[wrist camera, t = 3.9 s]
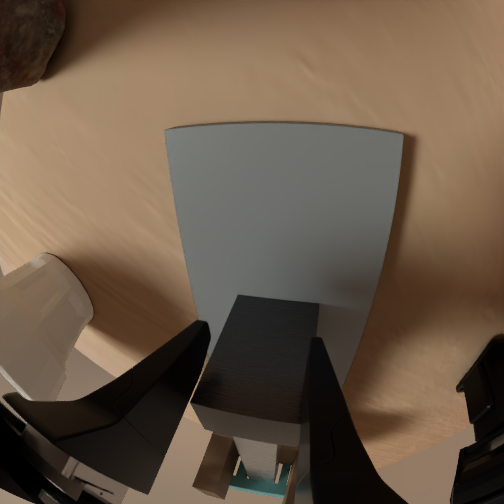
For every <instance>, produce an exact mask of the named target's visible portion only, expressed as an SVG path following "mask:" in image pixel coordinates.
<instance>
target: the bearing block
mask: <svg viewBox="0 0 504 504" xmlns="http://www.w3.org/2000/svg"><path fill="white" fill-rule="evenodd" d="M299 442H300V439H299ZM239 456H240V454H239V452H238V449H237V446H236V444H235V441H234V438H233V436H230V435H225V434H221V433H217V432H213V434H212V437H211V439H210V442H209V444H208V447H207V450H206V452H205V456H204V457H203V460H202V463H201V465H200V468H199V470H198V473H197V475H196V478H195V481H194V483H193V487H194V488H196V489H198V490H199V491H201V492H203V493H204V494H206V495H210V496H213V497H216V498H220V499H225V496H226V494H227V491H228V488H229V485H230V482H231V479H232V476H233V473H234V470H235V467H236V464H237V461H238V457H239ZM298 456H299V443H298V446H297V447H291V446H284V445H281V451H280V459H279V463H281V464H288V465H292V467H291V471H290V475H289V480H288V484H287V488H286V492H285V495H284V500H283V503H282V504H294V500H295V490H296V480H297V469H298Z"/></svg>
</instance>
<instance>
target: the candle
mask: <svg viewBox="0 0 504 504" xmlns="http://www.w3.org/2000/svg"><path fill="white" fill-rule="evenodd" d="M65 18H66V8H65V6H64V3H63V0H0V93H1V92H4V91H9V90H13V89H17V88H22V87H28V86H32V85H33V84H35V83H37V82H38V81H39V80H40V77H41V76H42V75H43V74H44V72H45V70H46V66H47V62H48V61H49V59H50V57H51V56H52V54H53V51H54V50H56V47H57V44H58V42H59V40H60V38H61V37H62V35H63V32H64V29H65Z"/></svg>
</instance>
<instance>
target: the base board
mask: <svg viewBox="0 0 504 504" xmlns="http://www.w3.org/2000/svg"><path fill="white" fill-rule="evenodd" d="M164 132H165V140H166V148H167V156H168V163H169V170H170V177H171V184H172V190H173V196H174V202H175V208H176V214H177V220H178V225H179V231H180V236H181V241H182V247H183V252H184V257H185V261H186V266H187V271H188V276H189V280H190V285H191V289H192V294H193V298H194V302H195V307H196V311H197V315H198V319H199V320H203V321H207V322H208V324H209V328H210V333H211V341H210V344H209V348H208V351H207V354H208V357H209V359H210V356H211V354H212V352H213V350H214V347H215V345H216V343H217V341H218V338H219V336H220V334H221V332H222V329H223V327H224V325H225V322H226V320H227V318H228V316H229V313H230V311H231V309H232V307H233V304H234V302H235V300H236V297H237V295H246V296H255V297H263V298H272V299H281V300H290V301H300V302H311V303H320V304H319V315H318V325H317V335H316V336H318V337H322V339H323V341H324V344H325V347H326V349H327V352H328V355H329V357H330V360H331V363H332V365H333V368H334V371H335V374H336V376H337V379H338V382H339V384H340V387H341V389H342V387H343V385H344V382H345V380H346V377H347V375H348V372H349V370H350V367H351V365H352V362H353V359H354V357H355V354H356V351H357V349H358V346H359V343H360V340H361V337H362V334H363V331H364V328H365V325H366V322H367V319H368V316H369V313H370V310H371V306H372V303H373V300H374V296H375V293H376V289H377V285H378V282H379V278H380V274H381V270H382V266H383V262H384V258H385V254H386V249H387V245H388V240H389V235H390V230H391V225H392V220H393V215H394V209H395V203H396V197H397V190H398V183H399V175H400V167H401V158H402V148H403V136H404V134H402V133H400V132H398V131H392V130H386V129H379V128H371V127H363V126H354V125H344V124H332V123H316V122H292V121H250V122H225V123H210V124H198V125H187V126H178V127H173V128H169V129H166V130H164Z"/></svg>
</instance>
